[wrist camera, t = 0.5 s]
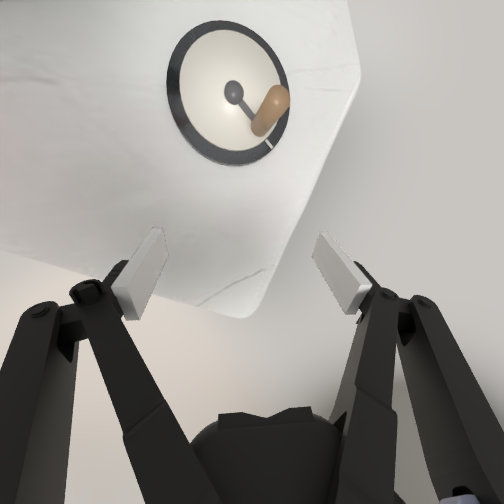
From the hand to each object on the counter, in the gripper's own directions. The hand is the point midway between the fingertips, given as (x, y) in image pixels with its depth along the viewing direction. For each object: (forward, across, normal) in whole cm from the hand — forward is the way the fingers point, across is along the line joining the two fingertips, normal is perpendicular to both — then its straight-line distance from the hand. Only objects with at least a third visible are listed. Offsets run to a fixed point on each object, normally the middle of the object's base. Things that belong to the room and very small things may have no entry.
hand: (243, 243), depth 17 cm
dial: (+26, -1, +11) cm, 28 cm away
